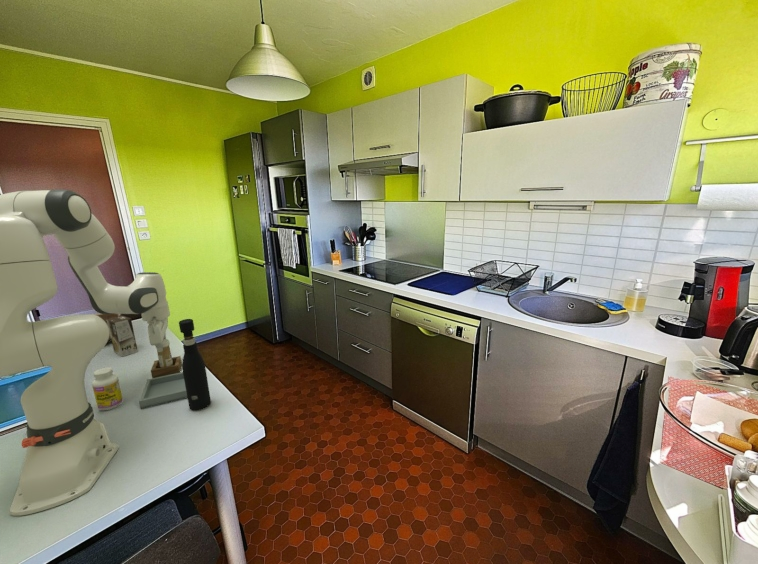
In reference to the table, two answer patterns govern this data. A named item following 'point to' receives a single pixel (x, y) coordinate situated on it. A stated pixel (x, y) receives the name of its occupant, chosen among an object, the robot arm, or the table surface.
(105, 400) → the supplement bottle
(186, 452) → the table surface
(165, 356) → the sprinkles bottle
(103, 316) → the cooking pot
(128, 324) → the coffee box
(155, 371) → the walnut collar
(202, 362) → the black water bottle
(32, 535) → the table surface
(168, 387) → the slate tray
